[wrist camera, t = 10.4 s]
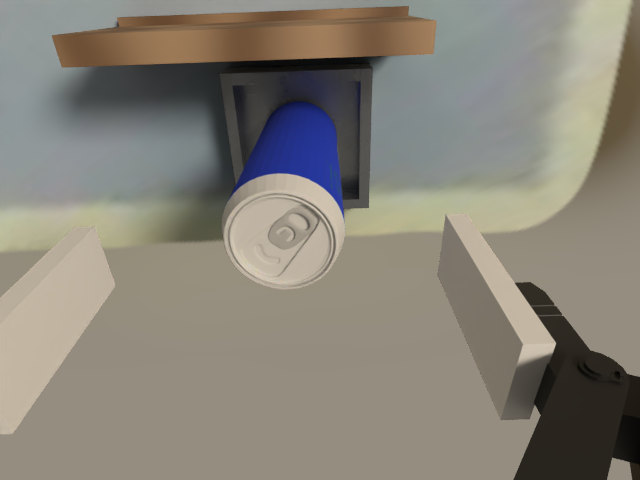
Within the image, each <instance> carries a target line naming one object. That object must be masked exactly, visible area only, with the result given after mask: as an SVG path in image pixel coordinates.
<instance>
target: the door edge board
mask: <svg viewBox="0 0 640 480" xmlns="http://www.w3.org/2000/svg"><path fill="white" fill-rule="evenodd" d="M408 11H409V6H401V7H376V8H350V9H325V10H299V11H273V12H248V13H222V14H197V15H171V16H145V17H120V18H117V20H118V24H119V27H114V28H106V29H99V30H91V31H83V32H75V33H67V34H59V35H52V38H53V41H54V44H55V48H56V51H57V54H58V57H59V60H60V63H61V66H62V67H89V66H117V65H144V64H172V63H200V62H227V61H255V60H283V59H311V58H338V57H366V56H394V55H421V54H433V52H434V42H435V31H436V21H435V20H429V19H423V18H418V17H412V16H408Z"/></svg>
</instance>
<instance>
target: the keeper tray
mask: <svg viewBox="0 0 640 480" xmlns="http://www.w3.org/2000/svg"><path fill="white" fill-rule="evenodd" d="M219 75H220V82H221V89H222V96H223V102H224V109H225V116H226V123H227V130H228V136H229V143H230V150H231V157H232V164H233V170H234V177H235V184H237V182H238V179H239V177H240V175H241V173H242V171H243V169H244V167H245V165H246V163H247V161H248V159H249V157H250V155H251V153H252V151H253V149H254V147H255V145H256V142H257V140H258V138H259V136H260V134H261V132H262V130H263V128H264V126H265V124H266V122H267V120H268V118H269V117H270V115H271V114H272V113H273V112H274V111H275V110H276V109H278V108H279V107H280V106H282V105H284V104H287V103H290V102H297V101H300V102H308V103H311V104H314V105H316V106H318V107H320V108H321V109H322V110H324V111H325V112H326V113H327V114H328V116H329V117H330V118H331V120H332V122H333V124H334V126H335V129H336V134H337V144H338V155H339V167H340V178H341V189H342V200H343V209H347V208H369V177H370V141H371V105H372V67H371V66H370V64H369V63H360V64H332V65H304V66H276V67H248V68H227V69H226V70H224V71H223V72H221V73H220V74H219Z"/></svg>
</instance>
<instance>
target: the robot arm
mask: <svg viewBox="0 0 640 480" xmlns="http://www.w3.org/2000/svg"><path fill="white" fill-rule="evenodd" d="M438 277H439V279H440V282H441V284H442V286H443V289H444V291H445V293H446V295H447V298H448V300H449V302H450V305H451V307H452V309H453V311H454V314H455V316H456V319H457V321H458V323H459V325H460V328H461V330H462V332H463V334H464V337H465V339H466V341H467V344H468V346H469V348H470V351H471V353H472V355H473V358H474V360H475V362H476V364H477V367H478V369H479V371H480V374H481V375H482V378H483V380H484V383H485V385H486V387H487V390H488V392H489V394H490V396H491V399H492V401H493V403H494V406H495V408H496V410H497V413H498V415H499V417H500V419H501V420H513V419H514V420H515V419H530V416H531V414H532V411H533V408H534V405H536V407H537V409H538V411H539V413H540V415H541V416H540V418H539V421H538V423H537V426H536V428H535V430H534V433H533V435H532V437H531V440H530V442H529V444H528V447H527V449H526V452H525V454H524V456H523V458H522V461H521V463H520V466H519V468H518V470H517V473H516V475H515V478H514V480H607V476H608V472H609V468H610V464H611V460H612V458H616V459H620V460H624V461H628V462H630V467H631V473H632V480H640V377H637V376H633V375H629V374H627V373H626V372H625V370H624V369H623V367H621V366H620V365H619V364H618V363H617V362H615V361H614V360H613V359H611V358H609V357H607V356H605V355H603V354H601V353H597V352H594V351H590V349H589V348H588V347H587V346H586V344H585V343H584V342H583V340H582V339H581V338H580V337H579V335H578V334H577V333H576V331H575V330H574V329H573V327H572V326H571V325H570V324H569V322H568V321H567V320H566V319H565V317H564V316H562V313H561V312H560V311H559V309H558V308H557V307H556V306H554V303H553V302H552V300H551V299H550V298H549V296H548V295H547V294H546V293H545V292H544V291H543V290H541V289H540V288H538V287H537V286H535V285H534V284H532V283H531V282H524V283H514V282H513V280H512V279H511V277H510V276H509V274H508V273H507V271H506V270H505V269H504V267H503V266H502V264H501V263H500V261H499V260H498V259H497V257H496V256H495V255H494V253H493V251H492V250H491V248H490V247H489V245H488V244H487V243H486V241H485V240H484V238H483V237H482V235H481V234H480V232H479V231H478V230H477V228H476V227H475V225H474V224H473V222H472V221H471V219H470V218H469V217H468V215H467V214H446V216H445V224H444V231H443V239H442V247H441V253H440V261H439V269H438ZM114 287H115V283H114V280H113V277H112V274H111V271H110V268H109V266H108V263H107V260H106V257H105V254H104V252H103V249H102V246H101V243H100V240H99V237H98V235H97V232H96V229H95V226H91V227H74V228H73V229H72V230H71V231H70V232H69V233H67V234H66V235H65V236H64V237H63V238H62V239H61V240H60V241H59V242H58V243H57V244H56V245H55V246H54V247H53V248H52V249H51V250H50V251H49V252H48V253H47V254H45V255H44V256H43V257H42V258H41V259H40V260H39V261H38V262H37V263H36V264H35V265H34V266H33V267H32V268H31V269H30V270H29V271H28V272H27V273H26V274H25V275H23V276H22V278H20V279H19V280H18V282H16V283H15V284H14V285H13V286H12V287H11V288H10V289H9V290H8V291H7V292H6V293H5V294H4V295H2V296H1V297H0V434H13V433H14V431H15V430H16V428H17V427H18V426H19V424H20V423H21V421H22V420H23V418H24V417H25V415H26V414H27V413H28V411H29V410H30V408H31V407H32V405H33V404H34V402H35V401H36V400H37V398H38V397H39V395H40V394H41V392H42V391H43V390H44V388H45V387H46V385H47V384H48V382H49V381H50V380H51V378H52V376H53V375H54V373H55V372H56V371H57V369H58V368H59V367H60V365H61V364H62V362H63V360H64V359H65V358H66V356H67V355H68V353H69V352H70V351H71V349H72V348H73V346H74V345H75V343H76V342H77V340H78V339H79V338H80V336H81V335H82V333H83V332H84V330H85V329H86V328H87V326H88V325H89V323H90V322H91V320H92V319H93V317H94V316H95V315H96V313H97V312H98V310H99V309H100V307H101V306H102V304H103V303H104V301H105V300H106V299H107V297H108V296H109V294H110V293H111V291H112V290H113V289H114Z"/></svg>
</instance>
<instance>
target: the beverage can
mask: <svg viewBox="0 0 640 480" xmlns="http://www.w3.org/2000/svg"><path fill="white" fill-rule="evenodd" d="M222 235H223V240H224V246H225V249H226V252H227V254H228V256H229V258H230V260H231V262H232V263H233V264H234V266H235V267H236V268H237V269H238V270H239V271H240V272H241V273H242V274H243V275H244V276H246V277H247V278H248V279H250V280H252V281H254V282H256V283H258V284H260V285H262V286H266V287H269V288H274V289H286V290H288V289H296V288H301V287H305V286H307V285H310V284H312V283H314V282H316V281H317V280H319V279H320V278H322V277H323V276H324V275H325V274H326V273H327V272H328V271H329V270H330V268H331V266H332V265H333V264H334V262H335V260H336V258H337V256H338V254H339V253H340V250H341V248H342V246H343V241H344V238H345V222H344V211H343V200H342V189H341V178H340V167H339V155H338V144H337V134H336V129H335V126H334V124H333V122H332V120H331V118H330V117H329V116H328V114H327V113H326V112H325V111H324V110H322V109H321V108H320V107H318V106H316V105H314V104H311V103H308V102H300V101H297V102H290V103H287V104H284V105H282V106H280V107H279V108H278V109H276V110H275V111H274V112H273V113H272V114H271V115H270V117H269V118H268V120H267V122H266V124H265V126H264V128H263V130H262V132H261V134H260V136H259V138H258V140H257V142H256V145H255V147H254V149H253V151H252V153H251V155H250V157H249V159H248V161H247V163H246V165H245V167H244V169H243V171H242V173H241V175H240V177H239V179H238V182H237V184H236V186H235V188H234V190H233V192H232V194H231V196H230V198H229V200H228V202H227V204H226V206H225V208H224V212H223V216H222Z"/></svg>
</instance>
